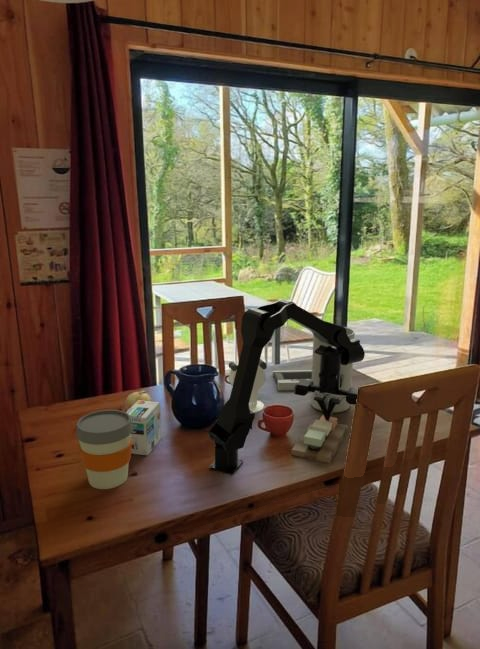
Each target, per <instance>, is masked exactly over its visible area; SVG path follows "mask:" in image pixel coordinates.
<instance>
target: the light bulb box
mask: <svg viewBox="0 0 480 649" xmlns="http://www.w3.org/2000/svg"><path fill="white" fill-rule="evenodd" d="M125 412H126V413H128V414H129V415H130V417H131V423H132V428H133V429H132V432H131V438H132V449H131V455H132V454H133V455H142V456H149V454H150V453H151V452H152V450H153V449H154V448H155V446H156V445H157V444H158V443H159V442H160V441H161V439H162V417H161V416H162V415H161V413H162V412H161V402H160V401H152V402H151V401H142V400H138V401H137V402H136V403H135V404H134V405H133V406H132V407H131V408H130V409H129V410H127V411H125Z"/></svg>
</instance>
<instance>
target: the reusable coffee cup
mask: <svg viewBox="0 0 480 649" xmlns="http://www.w3.org/2000/svg"><path fill="white" fill-rule="evenodd" d="M126 412H127V411H124V410H118V409H103V410H101V409H100V410H97V411H92V412H90V413H87V414H84V415H83V416H82V417H80V418H78V420H77V423H76V438H77V440H78V441H79V442H78V443H79V445H78V450H79V455H80V459H81V463H82V465H83V468H85V471H86V476H87V479H88V483H89V485H90V486H91V487H93V488H95V489H97V490H98V489H99V490H109V489H114V488H117V487H119V486H122V484H124V483H125V482H126V481H127V480H128V477H129V475H128V474H129V463H130V460H131V457H132V453H131V449H132V438H131V432H132V429H133V428H132V423H131V417H130V415H129V414H128V413H126Z"/></svg>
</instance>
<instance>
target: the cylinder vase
mask: <svg viewBox="0 0 480 649" xmlns="http://www.w3.org/2000/svg"><path fill="white" fill-rule="evenodd" d="M343 327H344V328H346V330H347V332H346V333H347V335H348V337H349V339H350V340H351V339H354V338H355V336H356V335H355V332H356V331H355V330H354V329H352V328H350V327H348V326H347V327H346V326H343ZM312 335H313V334H312ZM312 337H313V339H312V362H311V364H312V366H311V370H312V381H313V383H314V384H313V385H314V386H319V373H320V355H319V354H316V353H314V351H315V350H316V349H317V348H319V346H320V345H323V346H326V347H327V346H332V345H330V344H327V343H324V342H321V341H320V340H318V339H317V338H316V337H315V336H314V335H313V336H312ZM333 347H335V346H333ZM353 365H354V363H352V364H348V365H342V364H341V374H345V375H344V383H343V385H342V387H341V388H340V390H345V391H348V390H349V389H350V387H352V379H353ZM314 397H315V393H314V392H310V404H311V406H312V407H313V408H314V409H315V410H317V411H320V412H322V410H321V408H320V406H319V404H318V402H317V401H315V400H314ZM331 398H332V397H331V395H329V397H328V403H329V400H330V399H331ZM350 407H351V404H348V403H347V401H346V398H344V397H343V399H342V401H341V402H340V404H336V405H335V407H334V409H333V412H332V414H333V413H337V414H338V413H342V412H345V411H347V410H348V409H349V408H350Z"/></svg>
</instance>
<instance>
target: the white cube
mask: <svg viewBox="0 0 480 649" xmlns="http://www.w3.org/2000/svg"><path fill="white" fill-rule="evenodd" d="M331 428H332V422H327V421H322V420H319V419H317V420H315V422H314V423H313V425H312V428H311V430H316V431H321V432H325V437H326V436H327V435H328V434H329V432H330V431H331Z"/></svg>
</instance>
